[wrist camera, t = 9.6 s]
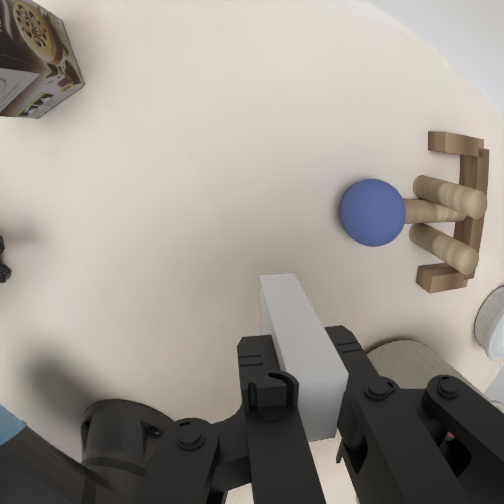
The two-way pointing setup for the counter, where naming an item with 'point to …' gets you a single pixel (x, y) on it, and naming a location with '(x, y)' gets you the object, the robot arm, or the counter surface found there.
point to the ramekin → (492, 325)
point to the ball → (373, 212)
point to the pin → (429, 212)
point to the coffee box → (34, 60)
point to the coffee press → (2, 271)
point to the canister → (414, 367)
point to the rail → (469, 229)
